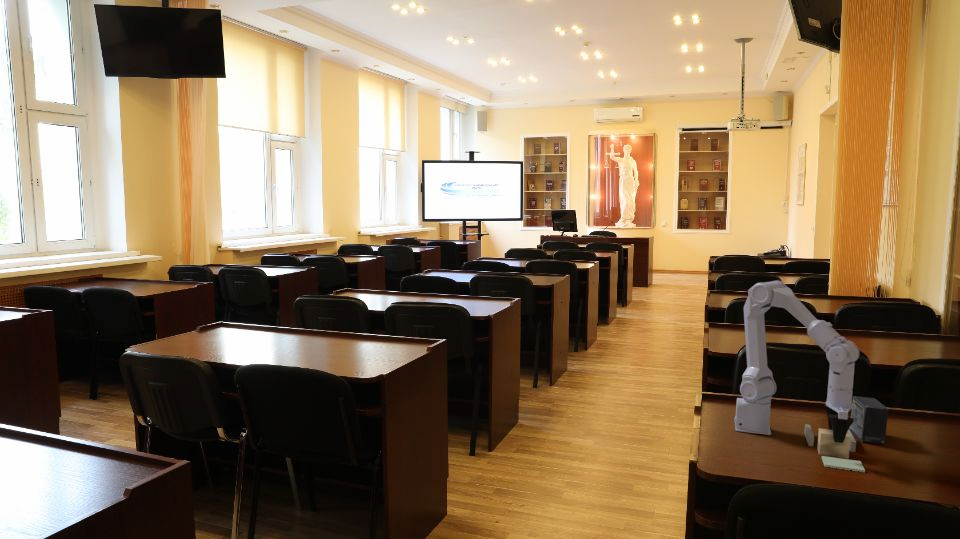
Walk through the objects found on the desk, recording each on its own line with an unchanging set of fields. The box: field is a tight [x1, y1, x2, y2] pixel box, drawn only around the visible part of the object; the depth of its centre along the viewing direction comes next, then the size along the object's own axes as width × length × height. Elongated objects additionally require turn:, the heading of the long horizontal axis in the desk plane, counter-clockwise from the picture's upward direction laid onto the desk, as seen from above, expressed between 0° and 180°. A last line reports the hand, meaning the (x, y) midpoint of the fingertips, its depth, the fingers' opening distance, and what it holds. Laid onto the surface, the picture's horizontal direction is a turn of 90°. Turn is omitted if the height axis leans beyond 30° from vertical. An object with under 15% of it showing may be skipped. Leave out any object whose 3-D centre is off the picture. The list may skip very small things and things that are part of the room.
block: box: [816, 427, 850, 460], centre depth 177 cm, size 7×4×6 cm, turn 70°
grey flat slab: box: [804, 424, 857, 453], centre depth 185 cm, size 11×10×3 cm
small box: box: [848, 395, 889, 445], centre depth 189 cm, size 11×6×10 cm, turn 168°
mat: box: [821, 455, 866, 473], centre depth 170 cm, size 9×6×1 cm, turn 70°
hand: (836, 437), depth 176 cm, fingers open, 7 cm apart
